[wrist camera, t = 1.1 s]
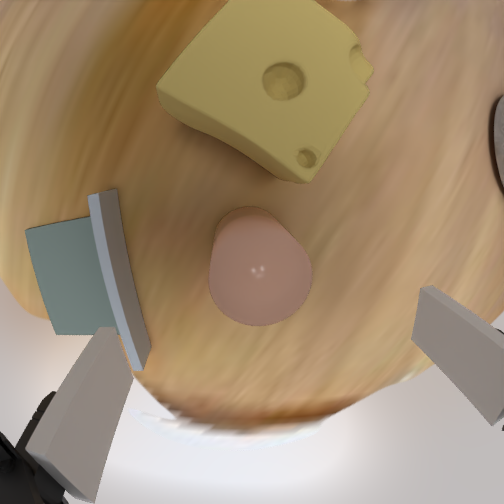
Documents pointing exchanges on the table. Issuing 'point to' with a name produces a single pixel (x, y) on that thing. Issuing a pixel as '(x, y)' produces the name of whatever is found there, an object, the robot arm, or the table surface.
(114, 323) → the mat
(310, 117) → the cheese
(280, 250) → the pink rounded cylinder
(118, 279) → the divider wall
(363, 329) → the table surface
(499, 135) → the planter
